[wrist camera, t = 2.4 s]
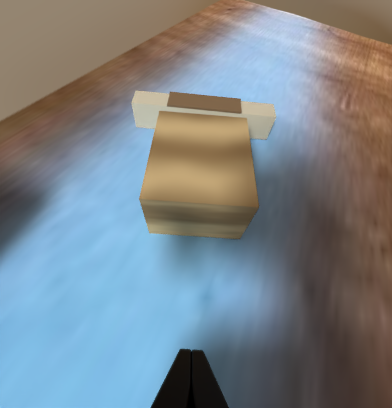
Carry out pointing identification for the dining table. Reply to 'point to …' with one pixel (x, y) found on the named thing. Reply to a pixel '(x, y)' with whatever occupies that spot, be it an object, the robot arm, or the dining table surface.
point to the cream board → (203, 109)
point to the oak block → (199, 176)
